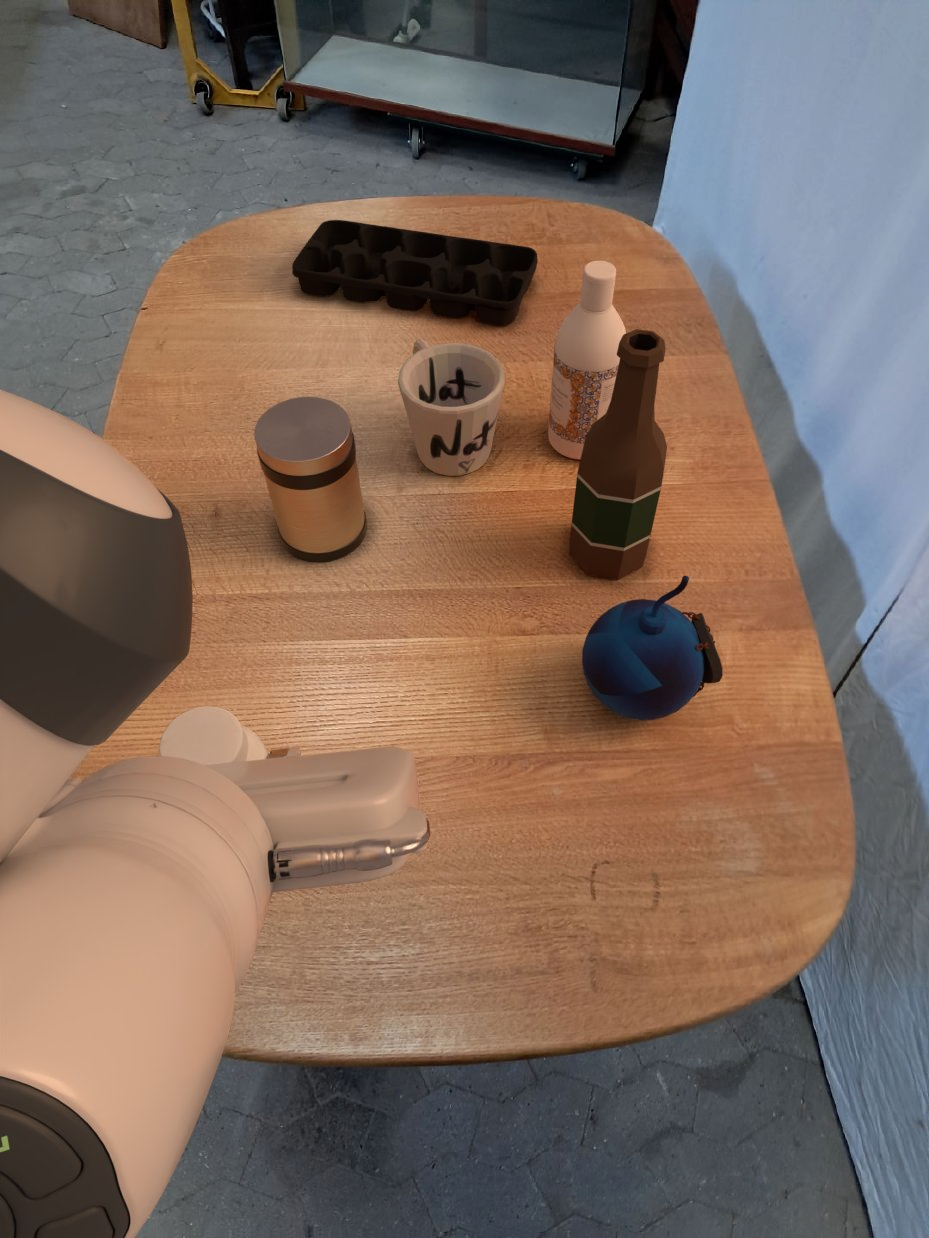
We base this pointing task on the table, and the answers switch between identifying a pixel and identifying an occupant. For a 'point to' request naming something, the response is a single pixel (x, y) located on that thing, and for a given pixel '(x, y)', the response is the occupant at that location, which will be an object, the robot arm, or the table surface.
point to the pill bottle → (210, 738)
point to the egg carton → (416, 270)
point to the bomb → (649, 657)
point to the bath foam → (585, 361)
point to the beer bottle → (621, 467)
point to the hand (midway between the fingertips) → (221, 769)
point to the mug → (452, 404)
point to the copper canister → (312, 477)
